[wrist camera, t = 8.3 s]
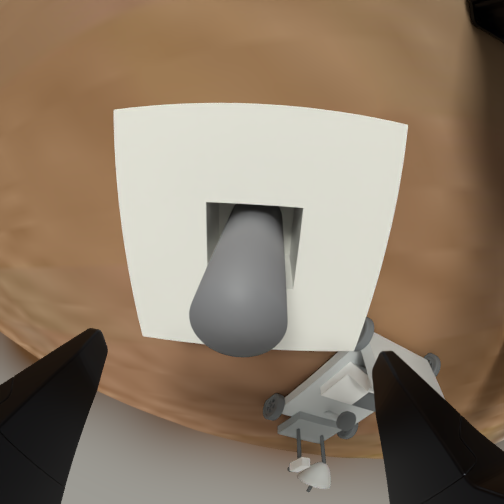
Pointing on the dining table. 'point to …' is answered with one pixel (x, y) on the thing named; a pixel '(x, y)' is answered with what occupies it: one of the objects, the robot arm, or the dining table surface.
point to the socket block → (258, 193)
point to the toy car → (339, 399)
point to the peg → (244, 285)
